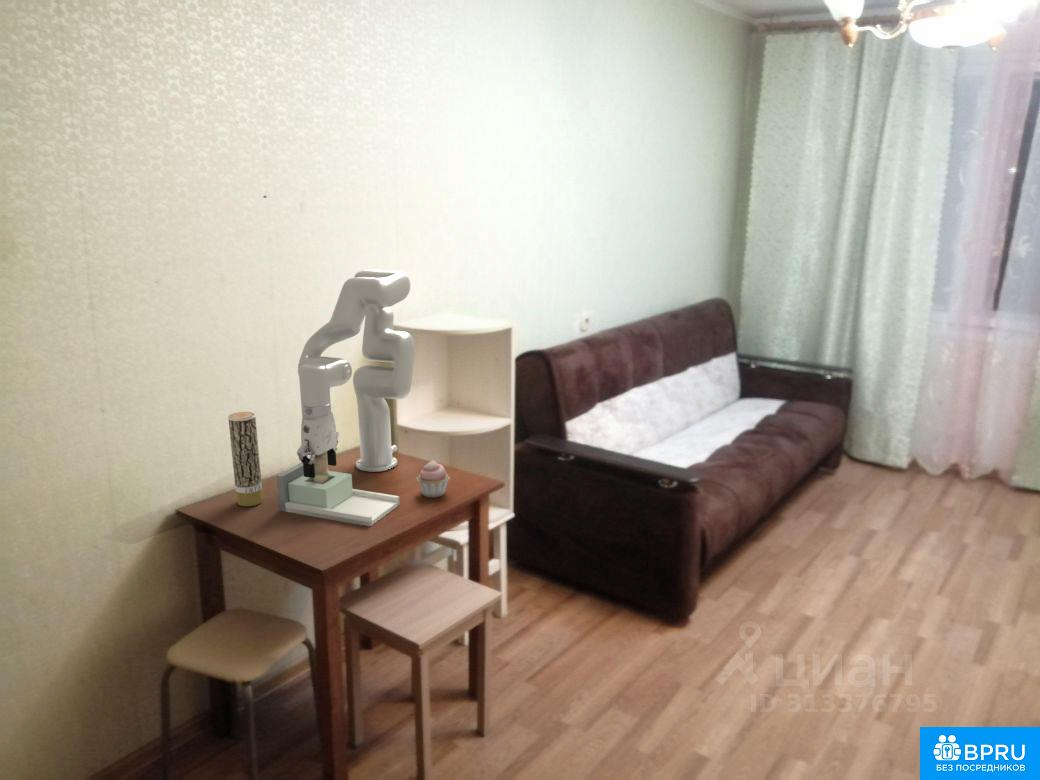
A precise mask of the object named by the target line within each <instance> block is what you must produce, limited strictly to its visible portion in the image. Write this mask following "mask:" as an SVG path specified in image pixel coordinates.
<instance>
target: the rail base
mask: <svg viewBox="0 0 1040 780" xmlns="http://www.w3.org/2000/svg"><path fill="white" fill-rule="evenodd" d="M302 475H304V470H303V463H301V462H300V463H297V464H296V465H294V466H292V467H290V468H288V469H286V470H284V471H282V472H281V473H279V474H277V475H276V480H277V481H276V483H277V484H276V485H277V494H278V505H279V506H278V507H279V511H281V512H285V513H291V514H292V513H293V514H295V515H301V516H302V515H303V516H308V517H312V518H313V517H314V518H319V519H325V520H331V521H336V522H342V523H346V524H347V523H348V524H353V525H358V524H359V525H358V526H363V525H365V526H364V527H369V526H370V527H372V526H373V525H374V523H375V524H376V523H377V522H378V520H379V521H380V520H381V519H383V518H384V517H385V516H387V515H388V514H389V513H391V512H392V511H393V510H395V509H396V508H397V507H399V506H400V495H399V496H398V495H393V494H388V493H381V492H375V491H367V490H362V489H356V488H352V490H353V495H351V496H350V497H348V498H347V499H345V500H344V501H342V502H341V503H339V504H338V505H336V506H334V507H333V508H331V509H328V508H322V507H316V506H310V505H304V504H299V503H293V502H289V491H288V483H290V482H292V481H293V480H295V479H297V478H299V477H301V476H302ZM398 505H399V506H398ZM386 514H387V515H386Z"/></svg>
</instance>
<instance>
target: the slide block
mask: <svg viewBox="0 0 1040 780" xmlns="http://www.w3.org/2000/svg"><path fill="white" fill-rule="evenodd" d="M328 472H329V481H328V482H326V483H324V484H319V483H314V478H309V477H305V476H304V475H302V476H301V477H299V478H297V479H295V480H293V481H292V482H290V483H288V491H289V502H293V503H299V504H304V505H310V506H316V507H322V508H328V509H331V508H333V507H334V506H336V505H338V504H339V503H341V502H342V501H344V500H345V499H347V498H348V497H350V496H351V495H353V490H352V489H353V475H352V473H344V472H339V471H334V470H333V471H332V470H328Z"/></svg>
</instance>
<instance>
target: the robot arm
mask: <svg viewBox="0 0 1040 780" xmlns="http://www.w3.org/2000/svg"><path fill="white" fill-rule="evenodd" d="M410 291H411V280H410V277H409V276H408V275H407V273H405V272H404V271H400V270H381V269H365V270H360V271H358V272H356V273H355V274H354V277H350V278H348V279H347V280H345V281H344V283H343V284H342V287H341V290H340V293H339V295H338V299H337V301H336V304H335V306H334V309H333V312H332V316H331V318H330V319H329V321H328V322H326V323H325V324H324V325H323V326H321V327H320V328H319V329H317V330H316V332H314V333H313V334H312V335H311V336H310V337H309V339H307V341H306V343H305V344H304V346H303V348H302V349H303V350H302V352H301V355H300V358H299V360H298V365H297V374H298V378H299V380H298V381H299V392H300V395H299V396H300V404H301V405H300V406H301V417H302V418H301V427H300V428H301V429H300V440H301V441H300V442H301V445H300V446H299V448H298V449H297V451H296V455H297V457H298V460H299V461H301V462H300V463H303V470H304V476H305V477H309V478H315V465H314V463H313V460H314V457H315V455H317V456H318V455H321V454H323V453H325V452H327V458H328V466H331V467H332V466H333V467H336V466H337V450H338V448H337V446H338V444H339V437H340V432H338V431H337V428H336V421H335V417H334V414H333V412H332V407H331V406H332V405H331V388H335V387H340V386H343V385H345V384H346V383H348V381H349V380H350V379H351V377H352V376H353V377H352V383H353V384H352V386H353V388H354V392H355V397H356V401H357V413H358V431H359V450H360V451H359V452H360V453H359V454H360V458H359V459H358V460H356V462H355V467H356V469H358V470H360V471H363V472H368V473H369V472H371V473H374V472H375V473H376V472H384V471H389V470H391V468H392V469H393V467H394V468H395V467H396V466H397V465H398V459H397V458H396V457H394V456H393V454H394V452H396V451H398V446H397V444H393V445H392V432H391V429H392V427H391V409H390V407H389V404H388V403H387V400H386V399H391V400H402V399H403V400H404V399H406V398H407V397H408V395H409V394H410V392H411V387H412V381H413V372H414V363H415V353H416V352H415V351H416V349H415V348H416V346H415V341H414V338H413V336H412V335H411V333H409V332H406V331H404V330H403V331H401V330H394V329H393V328H394V320H395V319H394V318H395V317H394V316H395V315H394V311H393V310H392V306H394V305H397V304H398V303H400V302H402V301H403V300H405V299H406V298H407V297H408V295H409V294H410ZM363 322H364V326H363V334H362V335H363V336H362V345H361V346H362V347H361V350H362V351H361V352H362V356H363V357H364V358H365V359H367V360H368V361H372V362H385V363H393V366H387V365H386V366H385V365H373V364H372V365H371V364H369V365H366V364H365V365H362V366H360V367H358V368H356V370H355V371H354V373H352V372H353V368H352V364H351V363H350V361H348V360H346V359H345V358H340V357H332V356H321V355H322V354H323V353H324V351H326V350H327V349H328V348H329V347H331V346H334V345H335V344H338V343H340V342H343V341H345V340H347V339H351V338H353V337H355V336H356V335H358V334H360V331H361V328H362V324H363ZM352 374H353V375H352ZM308 456H309V457H308ZM388 469H389V470H388Z"/></svg>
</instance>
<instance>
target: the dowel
mask: <svg viewBox="0 0 1040 780" xmlns="http://www.w3.org/2000/svg"><path fill="white" fill-rule="evenodd" d="M313 463H314V465H315V478H314V483H319V484H324V483H326V482H328V481H329V472H328V471H329V465H328V458H327V452H325V453H323V454H321V455H318V456H317V455H315V457H314V460H313Z"/></svg>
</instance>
